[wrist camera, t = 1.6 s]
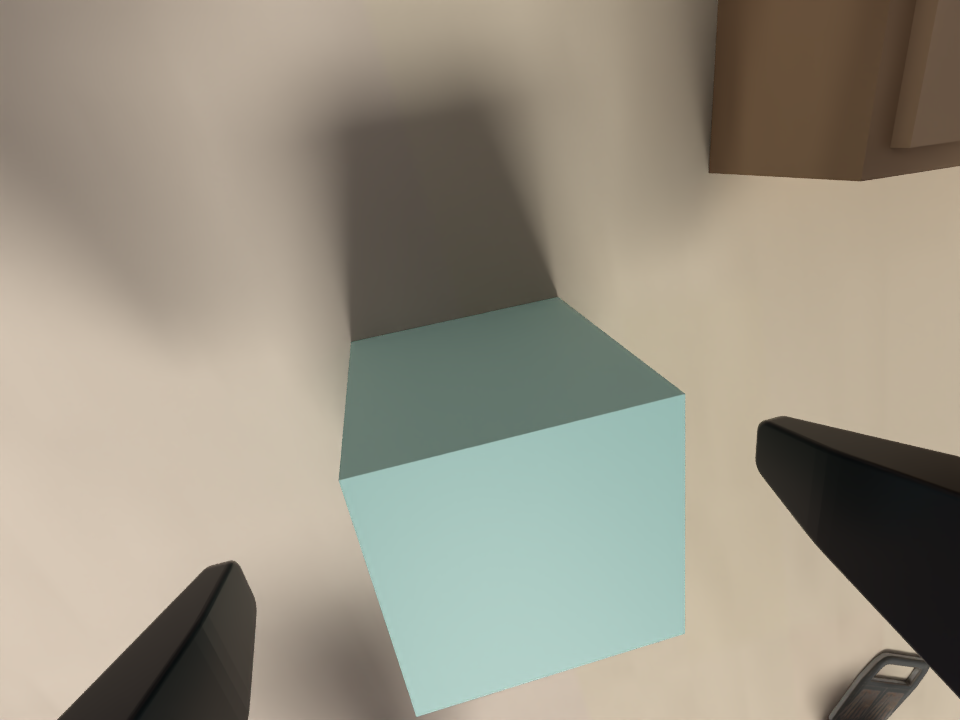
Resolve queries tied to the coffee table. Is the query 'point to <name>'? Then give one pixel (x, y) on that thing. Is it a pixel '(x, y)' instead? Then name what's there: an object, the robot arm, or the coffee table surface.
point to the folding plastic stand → (879, 690)
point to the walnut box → (836, 88)
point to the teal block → (514, 497)
